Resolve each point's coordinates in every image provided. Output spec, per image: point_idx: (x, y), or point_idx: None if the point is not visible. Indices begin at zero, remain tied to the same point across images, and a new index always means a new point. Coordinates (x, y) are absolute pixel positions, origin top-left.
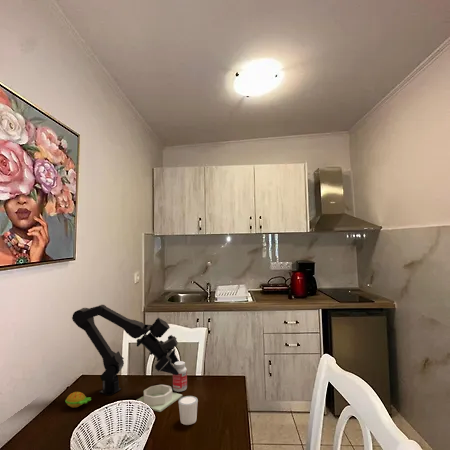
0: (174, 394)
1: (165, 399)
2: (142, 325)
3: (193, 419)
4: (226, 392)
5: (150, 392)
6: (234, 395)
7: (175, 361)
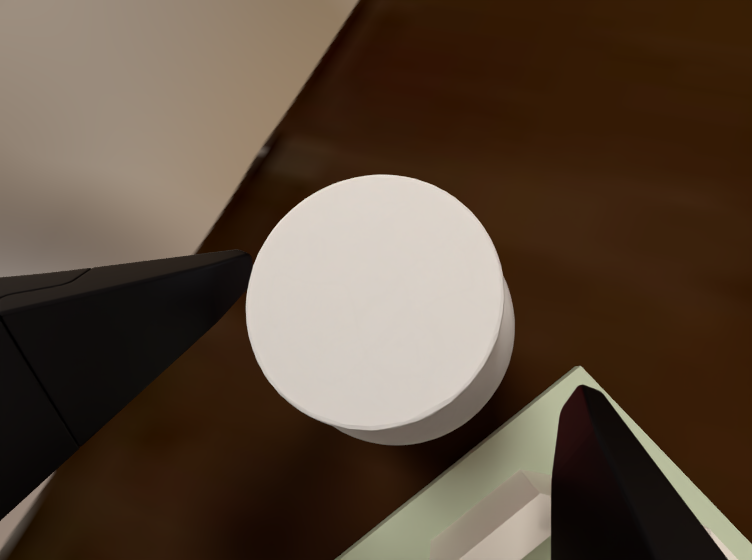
0: (548, 439)
1: None
2: None
3: None
4: (629, 41)
5: None
6: (703, 3)
7: (149, 326)
